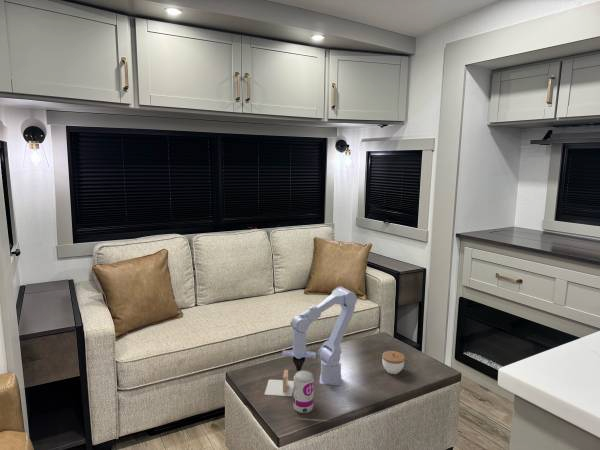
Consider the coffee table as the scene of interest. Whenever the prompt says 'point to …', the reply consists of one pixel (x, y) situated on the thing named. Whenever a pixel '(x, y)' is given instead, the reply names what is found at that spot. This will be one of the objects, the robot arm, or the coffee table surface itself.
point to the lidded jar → (393, 361)
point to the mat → (279, 388)
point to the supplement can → (303, 391)
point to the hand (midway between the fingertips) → (298, 372)
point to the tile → (285, 380)
